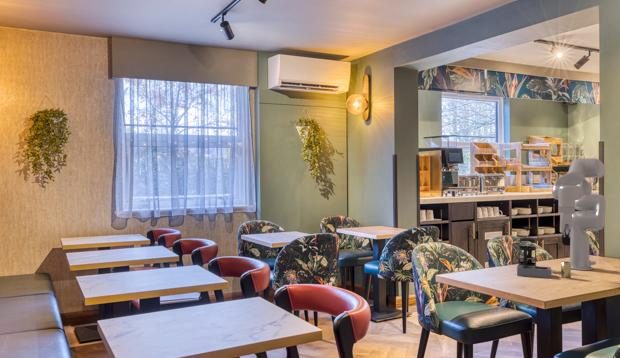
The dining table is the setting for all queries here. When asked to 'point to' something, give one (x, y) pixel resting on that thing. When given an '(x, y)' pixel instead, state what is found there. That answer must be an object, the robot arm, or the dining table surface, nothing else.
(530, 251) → the french press
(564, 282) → the dining table surface
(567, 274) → the brass fitting
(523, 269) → the block
